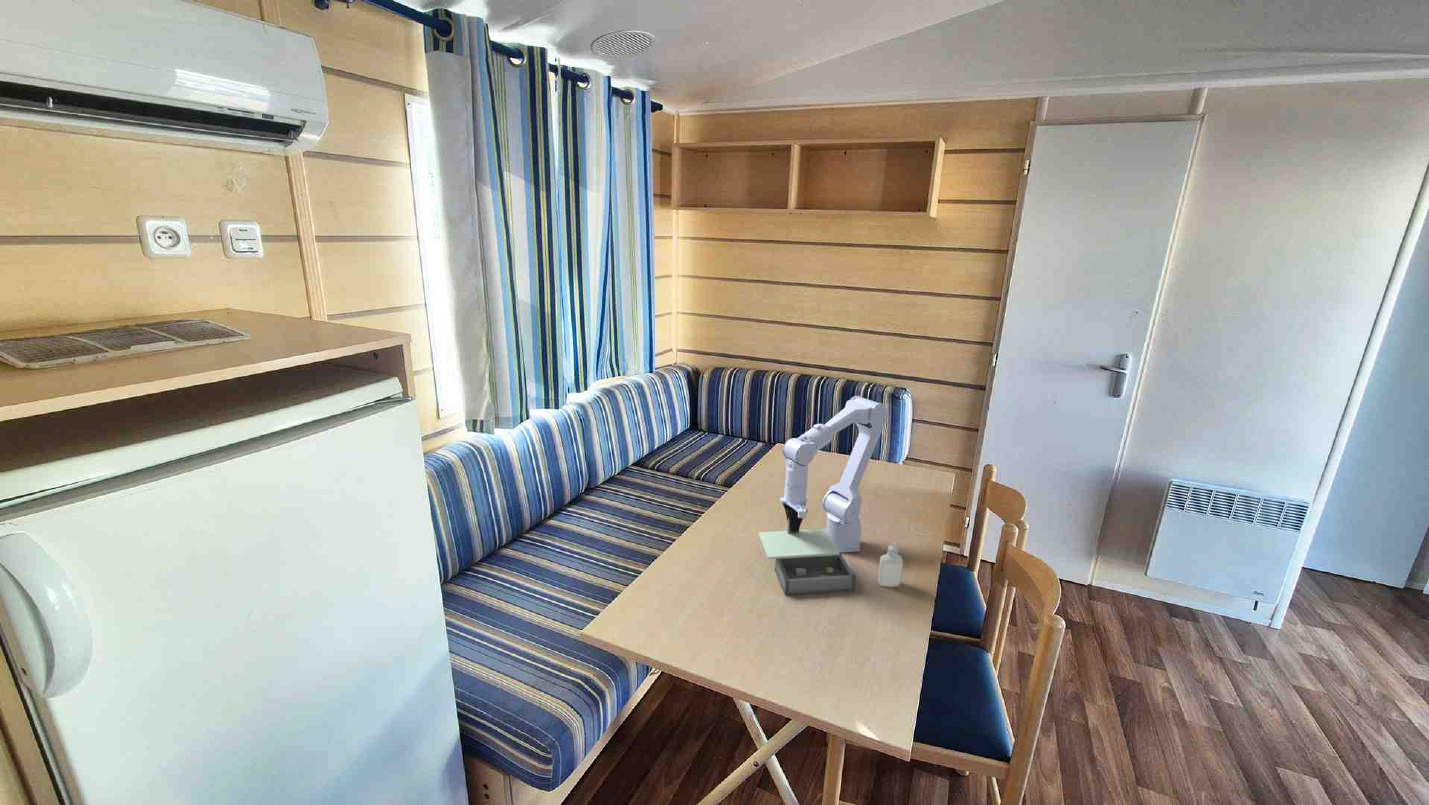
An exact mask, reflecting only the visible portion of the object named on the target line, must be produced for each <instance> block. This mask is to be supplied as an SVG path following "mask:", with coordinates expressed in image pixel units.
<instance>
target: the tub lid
mask: <svg viewBox="0 0 1429 805" xmlns="http://www.w3.org/2000/svg"><path fill="white" fill-rule="evenodd" d="M786 526H787V527H786V530H780V531H759V532H758V536H759V539H760V542H761V544H762V547H763V549H764V551H765V554H766V557H767V559H768V560H774V559H775V560H776V559H778V558H795V557H811V556H828V555H839V554H840V552H839V551H838V549H837V548H836V546H835V544H834V543H833V541H832V539H831V538H830V536H829V534H828V533H827V531H826V528H819V529H817V528H816V529H799V531H798V532H791V531H790V527H789V518H788V523H787V525H786Z"/></svg>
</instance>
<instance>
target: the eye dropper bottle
mask: <svg viewBox="0 0 1429 805" xmlns="http://www.w3.org/2000/svg"><path fill="white" fill-rule="evenodd" d="M898 549H899V548H898V547H897V545H896V543H895V541H894V542H891V545H888V546H887V552H886V553H885V554H882V555H881V556H880V557H879V564H878V572H877V574H878V575H877V583H878V585H879V586H881V587H884V588H895V587H899V586H900V585H901V580H902V573H903V564H904V560H903V557H902V556H901V555H899V554H898V551H899V550H898Z"/></svg>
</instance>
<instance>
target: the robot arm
mask: <svg viewBox="0 0 1429 805" xmlns="http://www.w3.org/2000/svg"><path fill="white" fill-rule="evenodd" d="M844 406H845V407H844V408H843V409H842V410H840V411H839V412H838V413H837V414H836V415H834V416H833V417H832V418H831V419H830V420H828V421H827V422H826V423H825V424H823V423H818V424H817V423H816V424H814V425H813V426H812V428H810V429H809V430H807V431H806V432H804V433H803V434H801V435H800V436H799V437H797V438H796V437H795V438H794V437H792V438H790V439H788V440H786V442H785V443H784V446H783V448H782V449H781V452H782V455H783V457H784V463H785V464H786V465H785V466H786V468H785V483H784V491H783V492H784V495H783V497H779V501H780V503H781V504H782V506H783V509H784V512H785V515H786V522H787V523H786V524H788V518H789V527H790V531H791V532H798V531H799V530H800V527H801V524H802V522H803V520H804V518H805V519H807V514H808V509H807V502H808V498H807V496H808V495H807V491H808V477H809V464H810V463H812V461H813V460H814V458H815V455H817V453H818V451H820V450H821V449H822V448H824V447H825V446H827V445H828V444H829V443H831V442H832V440H833V435H835V434H837V433H838V432H840V431H842V430H844V429H845V428H847V427H848V426H850V425H852V424H853V423H854V424H855V425H856V426H857V429H858V431H859V433H858V436H857V438H856V440H855V443H854V446H853V449H852V451H851V453H850V455H849V458H848V460H847V463H846V465H845V468H844V471H843V472H842V476H841V478H840V479H839V482H838V483H835V484H833V485H831V486H829V489H828V491H827V493H826V494H825V495H824V496H823V499H822V502H821V503H822V504H821V505H822V508H823V510H824V511H825V515H826V528H825V530H826V531H827V533H828V534H829V536H830V538H831V539H832V541H833V543H834V544H835V546H836V548H837V549H838V551H839V553H854V552H861V548H860V547H861V546H860V545H861V536H862V525H861V521H860V518H859V515H860V513H861V507H862V506H861V505H862V502H863V498H862V496H861V495H860V493H859V487H860V485H861V483H862V480H863V477H864V475H865V473H866V470H867V467H868V465H869V463H870V460H871V457H872V455H873V453H874V450H875V449H876V445H877V443H878V440H879V439H880V436H881V434H882V432H883V430H884V427H885V424H886V422H887V420H888V417H889V411H888V410H887V406H886V405H885V403H882V402H877V401H874V400H872V399H868V398H865V397H862V396H860V395H854V396H853V397H851V398H850V399H849V400H846V403H845V405H844Z"/></svg>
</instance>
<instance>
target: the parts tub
mask: <svg viewBox="0 0 1429 805" xmlns="http://www.w3.org/2000/svg"><path fill="white" fill-rule="evenodd" d="M774 562H775V563H774V564H775V566H774V570H775V571H774V572H775V573H776V577H777V579H778V581H779V583H780V586H781V589H782V591H783V594H784V595H785V596H790V595H807V594H821V593H822V594H824V593H838V592H841V593H842V592H853V591H855V585H856V575H855V573H854V572H853V571H852V569H851V567H850V566H849V564H848V563H847V561H846V559H845V558H844V557H843V554H842V553H839V555H828V556H811V557H795V558H778V559H775V561H774Z"/></svg>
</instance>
